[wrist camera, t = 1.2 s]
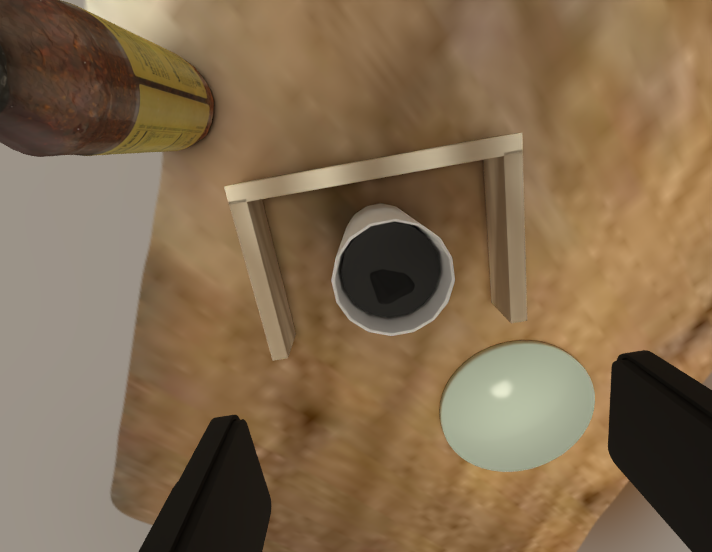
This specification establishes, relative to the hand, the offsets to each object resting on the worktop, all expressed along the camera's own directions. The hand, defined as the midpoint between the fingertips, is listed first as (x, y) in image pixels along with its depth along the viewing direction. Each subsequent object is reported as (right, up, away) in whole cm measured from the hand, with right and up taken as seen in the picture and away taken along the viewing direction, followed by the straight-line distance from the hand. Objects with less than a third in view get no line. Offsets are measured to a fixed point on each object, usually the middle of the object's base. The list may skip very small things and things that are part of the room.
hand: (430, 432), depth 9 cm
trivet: (+13, -8, +25) cm, 29 cm away
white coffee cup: (0, +7, +20) cm, 21 cm away
